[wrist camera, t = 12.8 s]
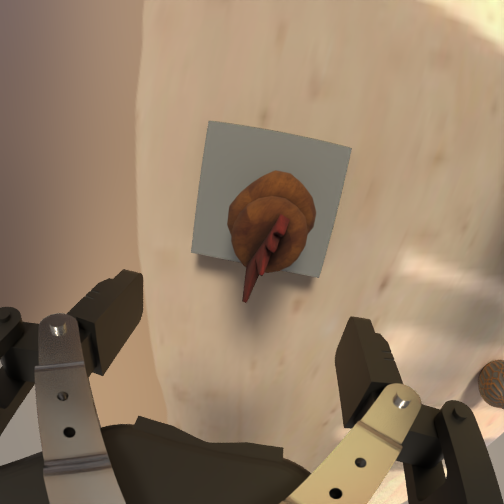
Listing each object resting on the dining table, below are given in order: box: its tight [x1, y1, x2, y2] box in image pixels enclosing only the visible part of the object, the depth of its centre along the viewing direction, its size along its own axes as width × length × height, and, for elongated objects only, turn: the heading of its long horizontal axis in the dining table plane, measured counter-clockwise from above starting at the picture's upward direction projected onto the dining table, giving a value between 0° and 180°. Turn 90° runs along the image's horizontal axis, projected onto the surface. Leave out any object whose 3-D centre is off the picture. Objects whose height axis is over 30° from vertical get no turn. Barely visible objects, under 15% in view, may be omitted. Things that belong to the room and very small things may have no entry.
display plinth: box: [191, 121, 352, 278], centre depth 30 cm, size 13×13×3 cm
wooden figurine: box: [227, 170, 316, 303], centre depth 22 cm, size 7×6×15 cm
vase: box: [478, 360, 504, 409], centre depth 34 cm, size 7×7×9 cm
